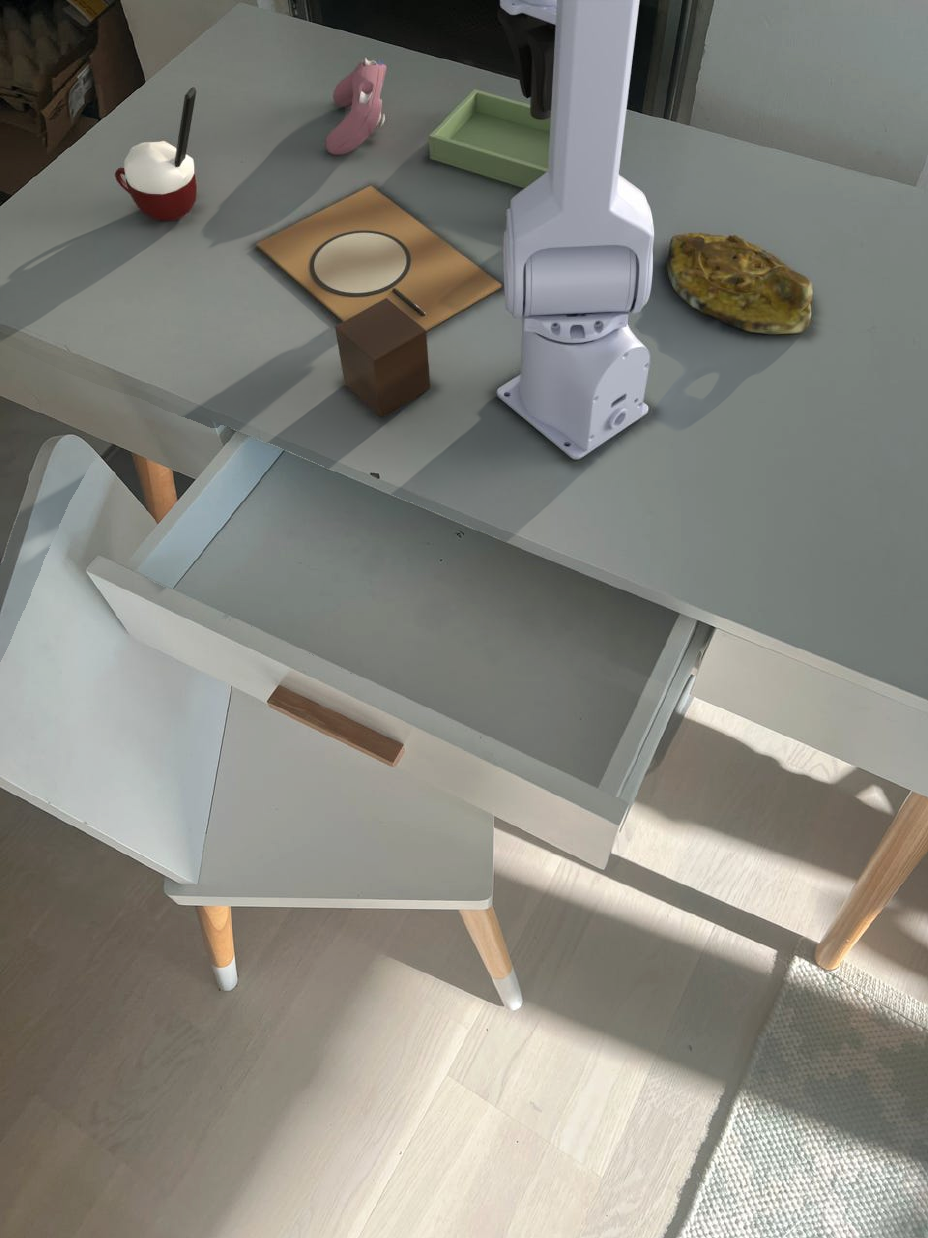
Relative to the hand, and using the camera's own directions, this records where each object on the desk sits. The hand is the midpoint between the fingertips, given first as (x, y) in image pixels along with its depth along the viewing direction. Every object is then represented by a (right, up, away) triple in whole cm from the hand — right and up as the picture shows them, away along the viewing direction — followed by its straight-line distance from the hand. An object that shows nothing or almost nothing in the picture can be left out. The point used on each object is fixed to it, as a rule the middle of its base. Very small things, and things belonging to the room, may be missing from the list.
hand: (542, 99), depth 88 cm
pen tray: (-1, 0, +10) cm, 10 cm away
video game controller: (-17, +4, +13) cm, 22 cm away
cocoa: (-34, -7, +7) cm, 35 cm away
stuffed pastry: (+17, -17, -1) cm, 24 cm away
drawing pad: (-15, -14, +1) cm, 20 cm away
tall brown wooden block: (-13, -27, -7) cm, 30 cm away
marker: (0, -1, +1) cm, 1 cm away
